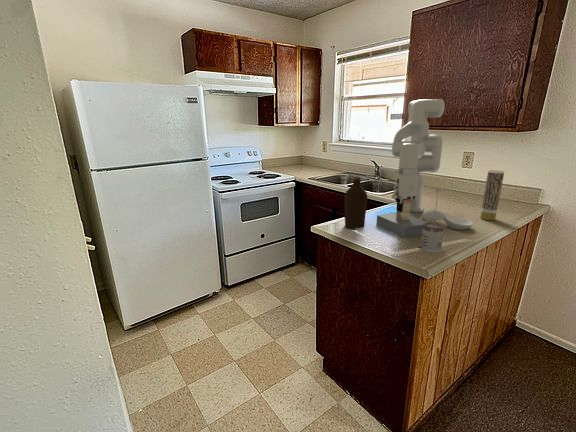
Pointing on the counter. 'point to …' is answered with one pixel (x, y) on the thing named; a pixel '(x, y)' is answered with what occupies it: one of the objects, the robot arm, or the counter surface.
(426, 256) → the counter surface
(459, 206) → the counter surface
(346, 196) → the olive oil
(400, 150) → the robot arm
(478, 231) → the counter surface
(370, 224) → the counter surface
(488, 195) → the paper tube
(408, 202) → the plug
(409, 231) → the socket block
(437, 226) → the french press
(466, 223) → the spoon rest
